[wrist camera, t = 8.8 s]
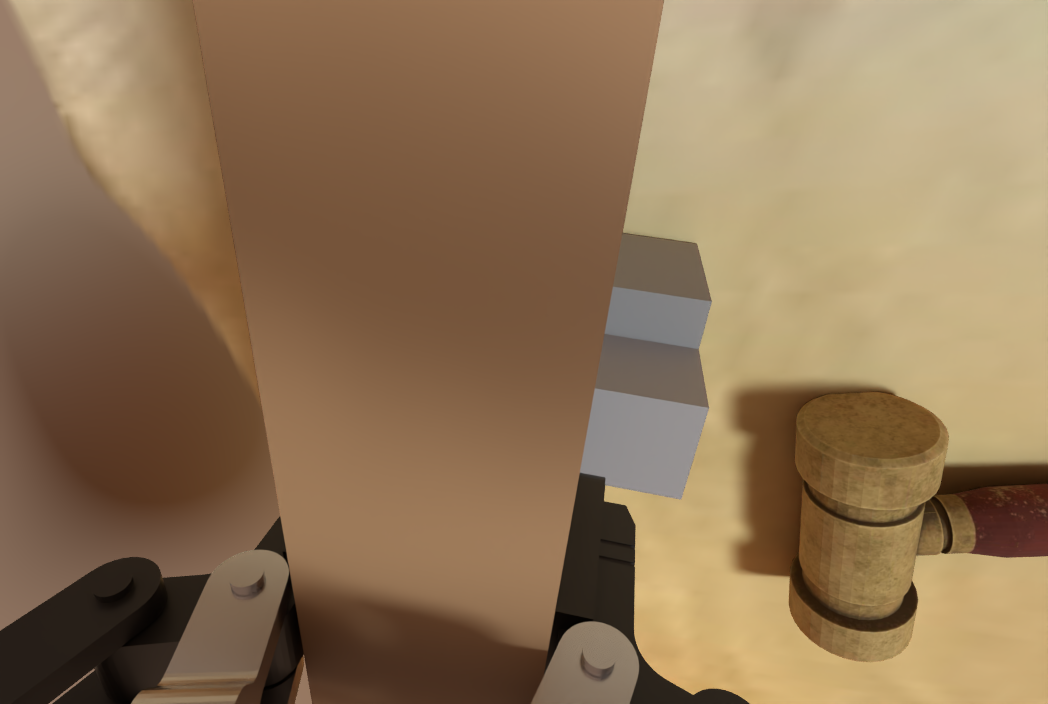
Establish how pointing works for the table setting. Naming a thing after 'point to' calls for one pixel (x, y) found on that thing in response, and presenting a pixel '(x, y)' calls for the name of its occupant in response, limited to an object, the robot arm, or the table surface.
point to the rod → (427, 310)
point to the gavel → (887, 520)
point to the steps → (650, 370)
